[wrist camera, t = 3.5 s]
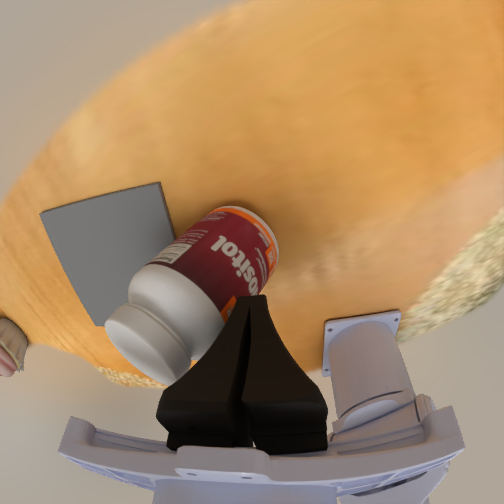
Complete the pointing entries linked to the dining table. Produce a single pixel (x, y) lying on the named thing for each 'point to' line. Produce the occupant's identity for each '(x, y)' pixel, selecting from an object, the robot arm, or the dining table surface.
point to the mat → (109, 243)
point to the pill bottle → (192, 292)
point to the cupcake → (11, 348)
